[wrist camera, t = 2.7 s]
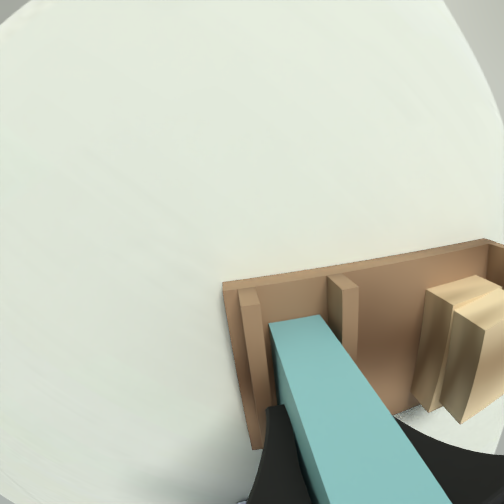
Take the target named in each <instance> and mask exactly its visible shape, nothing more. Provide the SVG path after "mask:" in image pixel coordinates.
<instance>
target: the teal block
mask: <svg viewBox="0 0 504 504" xmlns="http://www.w3.org/2000/svg"><path fill="white" fill-rule="evenodd" d="M268 324H269V333H270V342H271V351H272V360H273V370H274V379H275V389H276V398H277V405H282V404H284V405H285V407H286V410H287V413H288V415H289V418H290V421H291V424H292V428H293V433H294V439H295V444H296V450H297V456H298V461H299V465H300V470H301V473H302V476H303V479H304V482H305V485H306V488H307V491H308V494H309V496H310V499H311V502H312V504H452V503H451V501H450V500H449V498H448V497H447V495H446V494H445V492H444V491H443V489H442V488H441V486H440V485H439V483H438V482H437V480H436V479H435V477H434V476H433V474H432V473H431V471H430V470H429V468H428V467H427V465H426V464H425V462H424V461H423V460H422V458H421V457H420V455H419V454H418V452H417V451H416V449H415V448H414V446H413V445H412V444H411V442H410V441H409V439H408V438H407V436H406V435H405V433H404V432H403V431H402V429H401V428H400V426H399V425H398V423H397V422H396V420H395V419H394V418H393V416H392V415H391V413H390V412H389V410H388V409H387V408H386V406H385V405H384V403H383V402H382V401H381V399H380V398H379V396H378V395H377V393H376V392H375V391H374V389H373V388H372V386H371V385H370V384H369V382H368V381H367V379H366V378H365V377H364V375H363V374H362V372H361V371H360V370H359V368H358V367H357V365H356V364H355V363H354V361H353V360H352V358H351V357H350V356H349V354H348V353H347V351H346V350H345V349H344V347H343V346H342V345H341V343H340V342H339V340H338V339H337V338H336V336H335V335H334V334H333V332H332V331H331V329H330V328H329V327H328V325H327V324H326V323H325V321H324V320H323V318H322V317H321V316H320V314H319V315H314V316H308V317H303V318H297V319H291V320H286V321H280V322H274V323H268Z"/></svg>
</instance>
